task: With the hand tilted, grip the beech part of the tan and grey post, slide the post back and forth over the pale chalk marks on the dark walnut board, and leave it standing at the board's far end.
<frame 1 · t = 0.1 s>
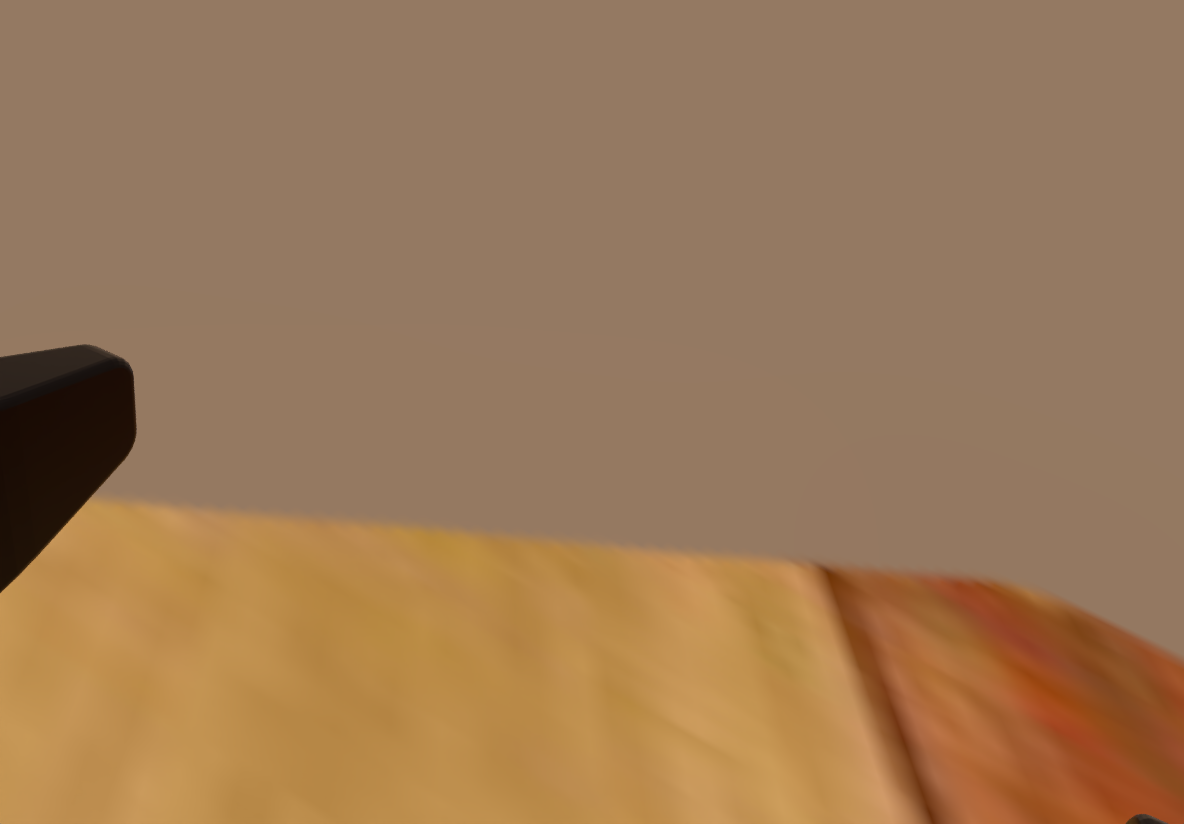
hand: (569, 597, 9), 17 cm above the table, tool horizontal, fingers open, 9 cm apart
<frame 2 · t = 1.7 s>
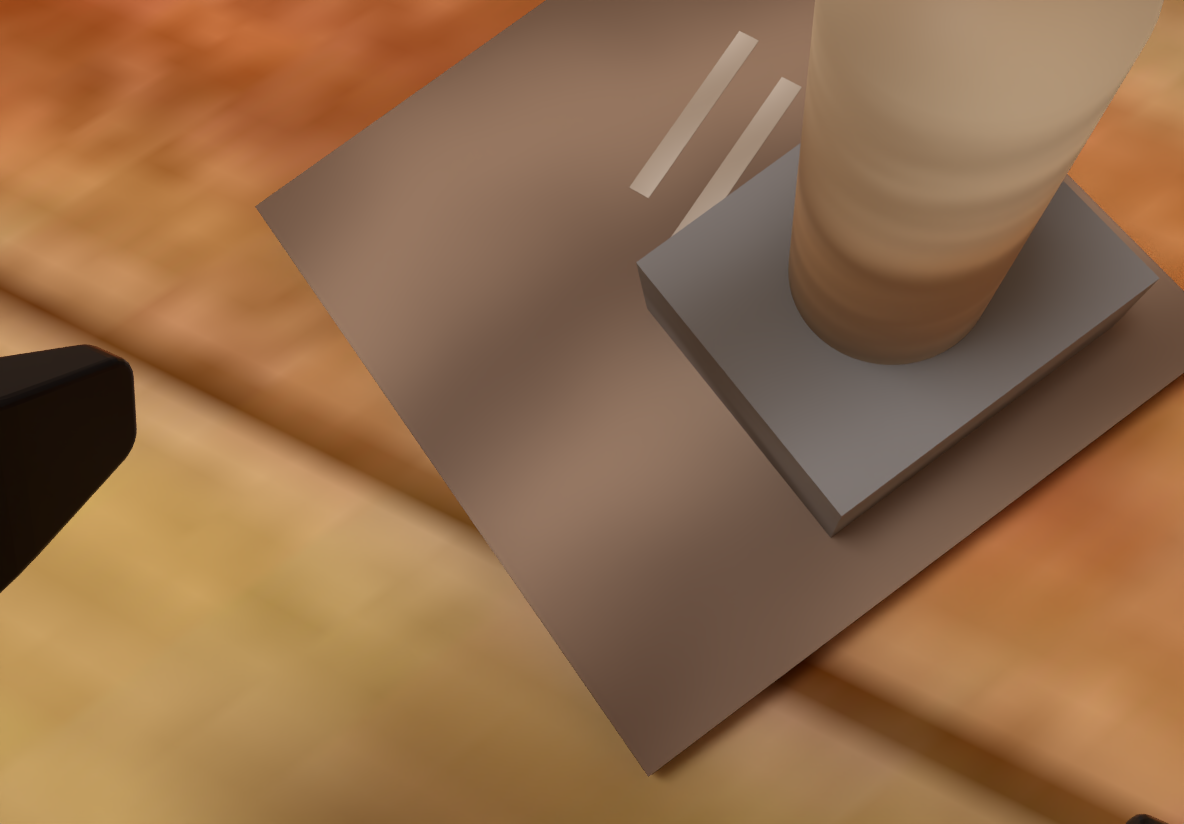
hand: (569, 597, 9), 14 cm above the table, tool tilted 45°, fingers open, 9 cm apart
walnut board: (706, 287, 24), on the table
tan and grey post: (873, 316, 22), point 1 cm above the table, touching walnut board
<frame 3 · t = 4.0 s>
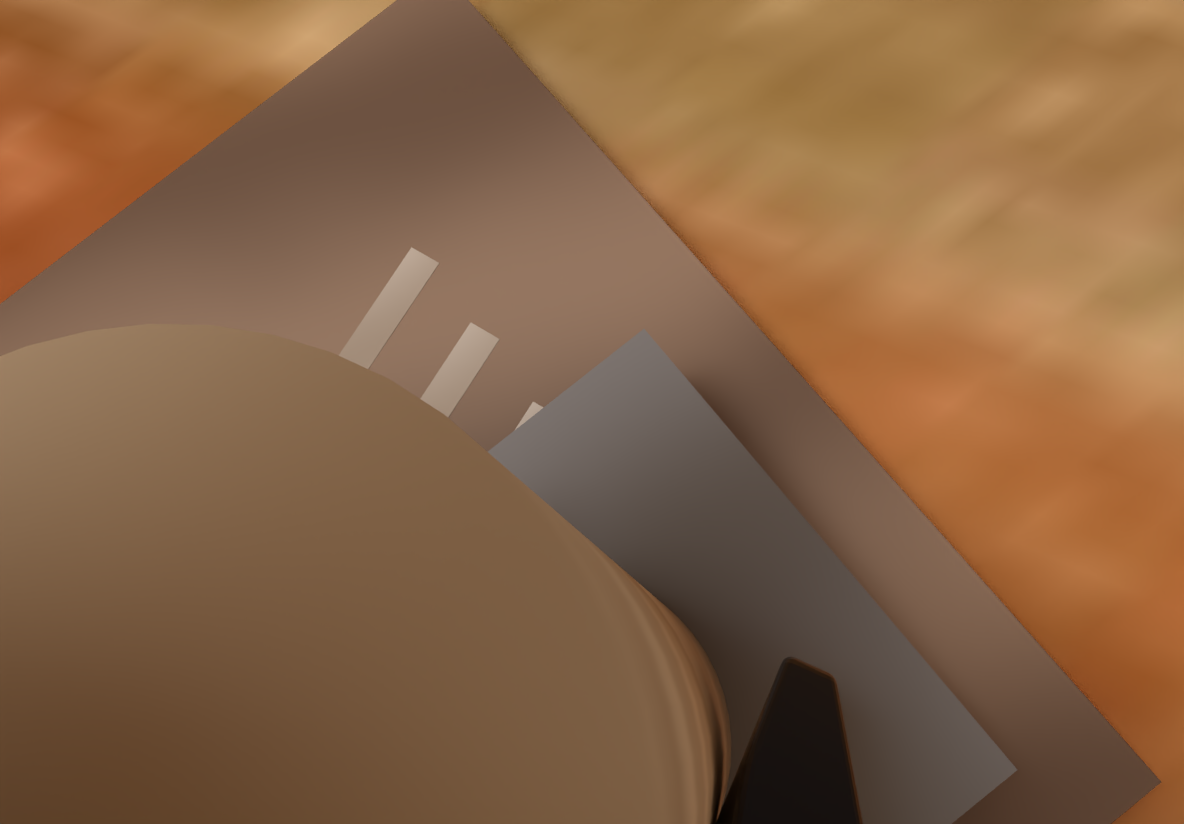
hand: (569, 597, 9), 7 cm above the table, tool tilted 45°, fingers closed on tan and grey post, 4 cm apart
walnut board: (372, 644, 16), on the table
tan and grey post: (593, 731, 14), point 1 cm above the table, touching gripper, walnut board
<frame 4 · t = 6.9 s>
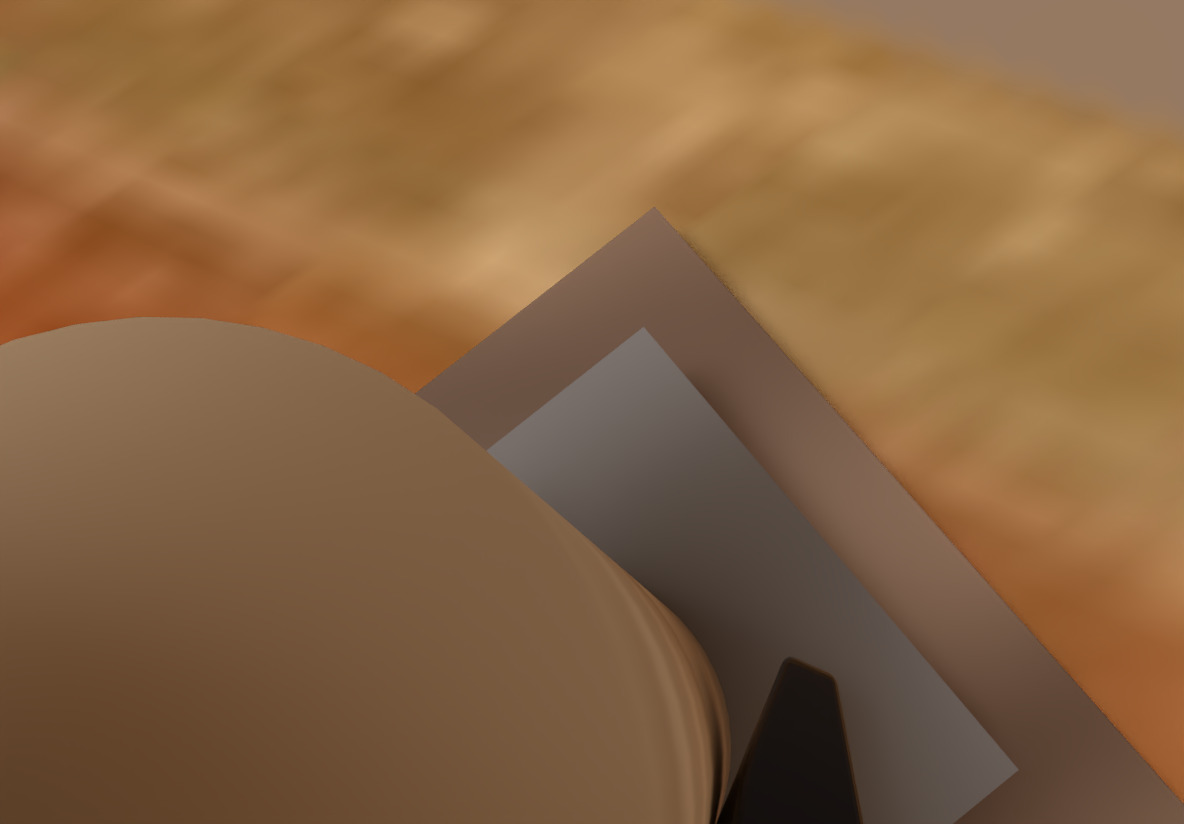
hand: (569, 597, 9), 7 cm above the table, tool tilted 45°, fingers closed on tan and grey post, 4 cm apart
tan and grey post: (593, 731, 14), point 1 cm above the table, touching gripper
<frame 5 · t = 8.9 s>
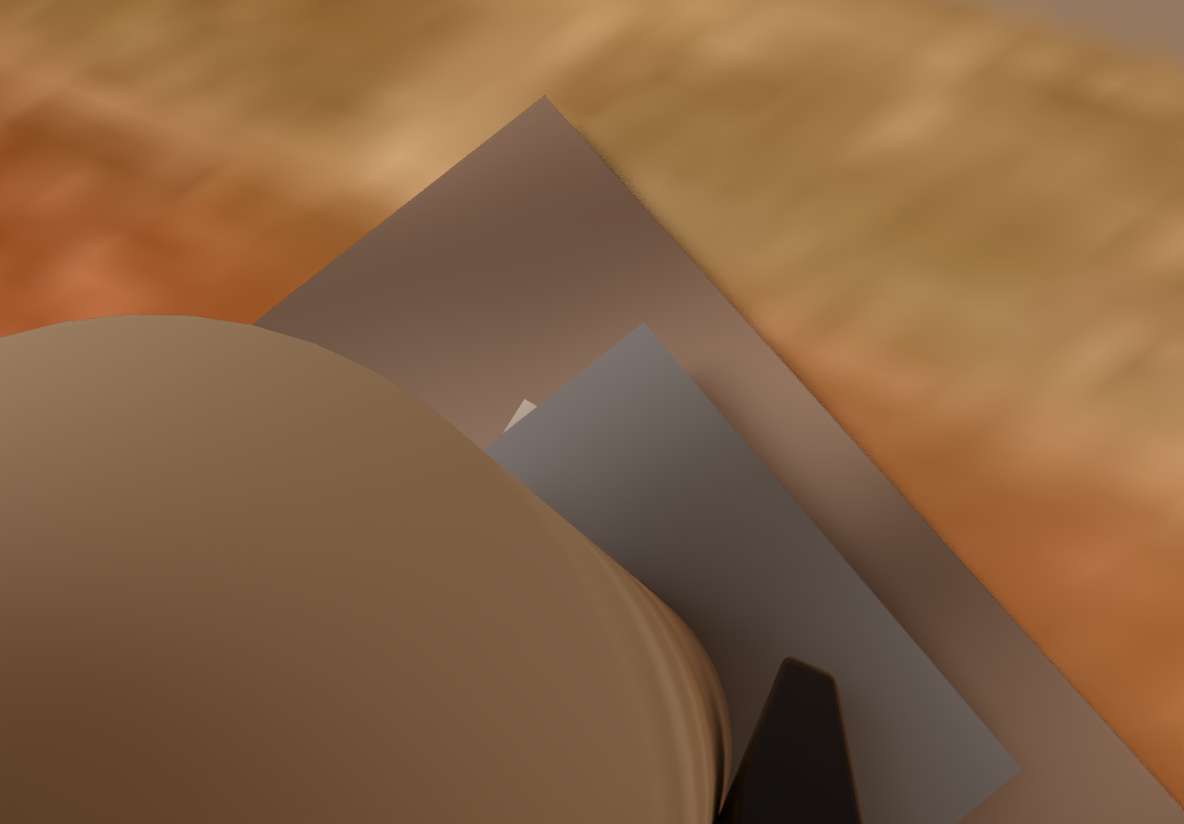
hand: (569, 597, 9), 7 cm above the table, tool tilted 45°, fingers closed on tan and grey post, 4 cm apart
walnut board: (486, 818, 15), on the table
tan and grey post: (593, 729, 14), point 1 cm above the table, touching gripper
when the fingers open (6 cm above the table, at t = 10.0 s): tan and grey post stays where it is, resting on walnut board.
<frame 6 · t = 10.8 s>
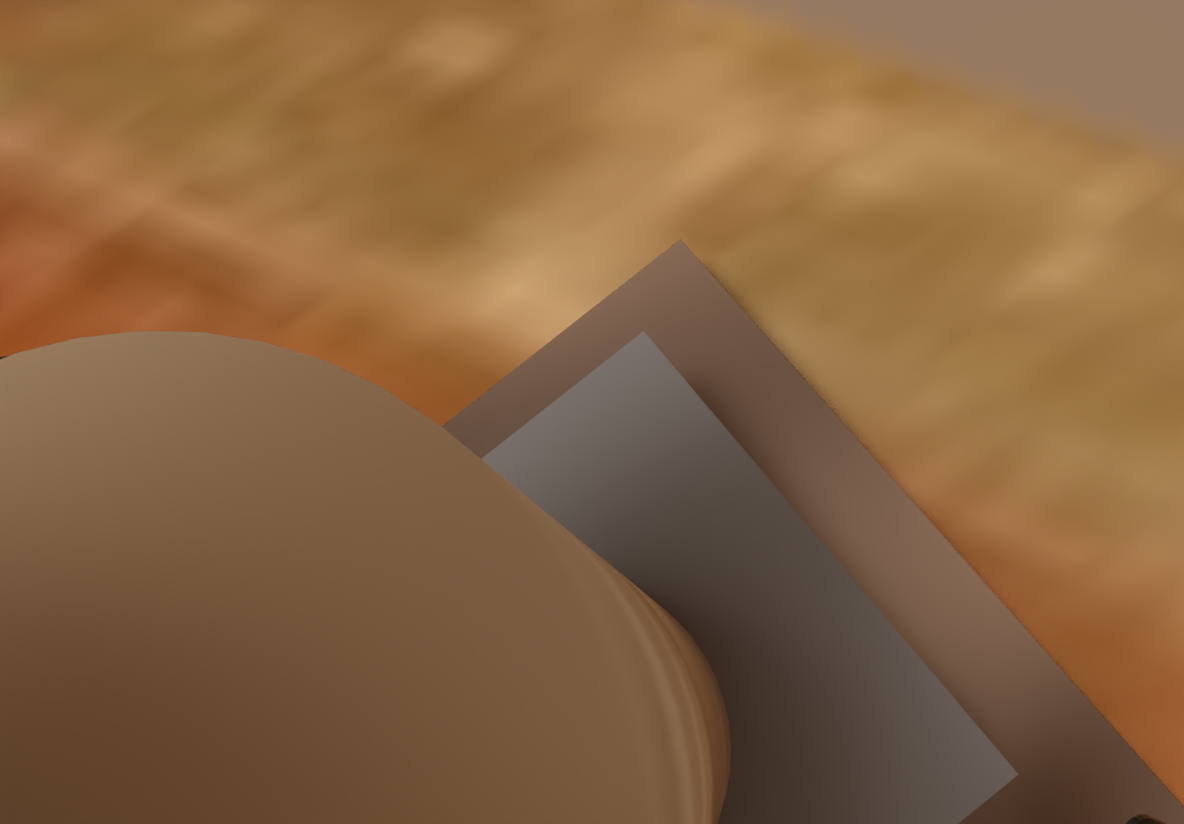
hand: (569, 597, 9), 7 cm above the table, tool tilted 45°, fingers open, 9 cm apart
tan and grey post: (593, 734, 14), point 1 cm above the table, touching walnut board
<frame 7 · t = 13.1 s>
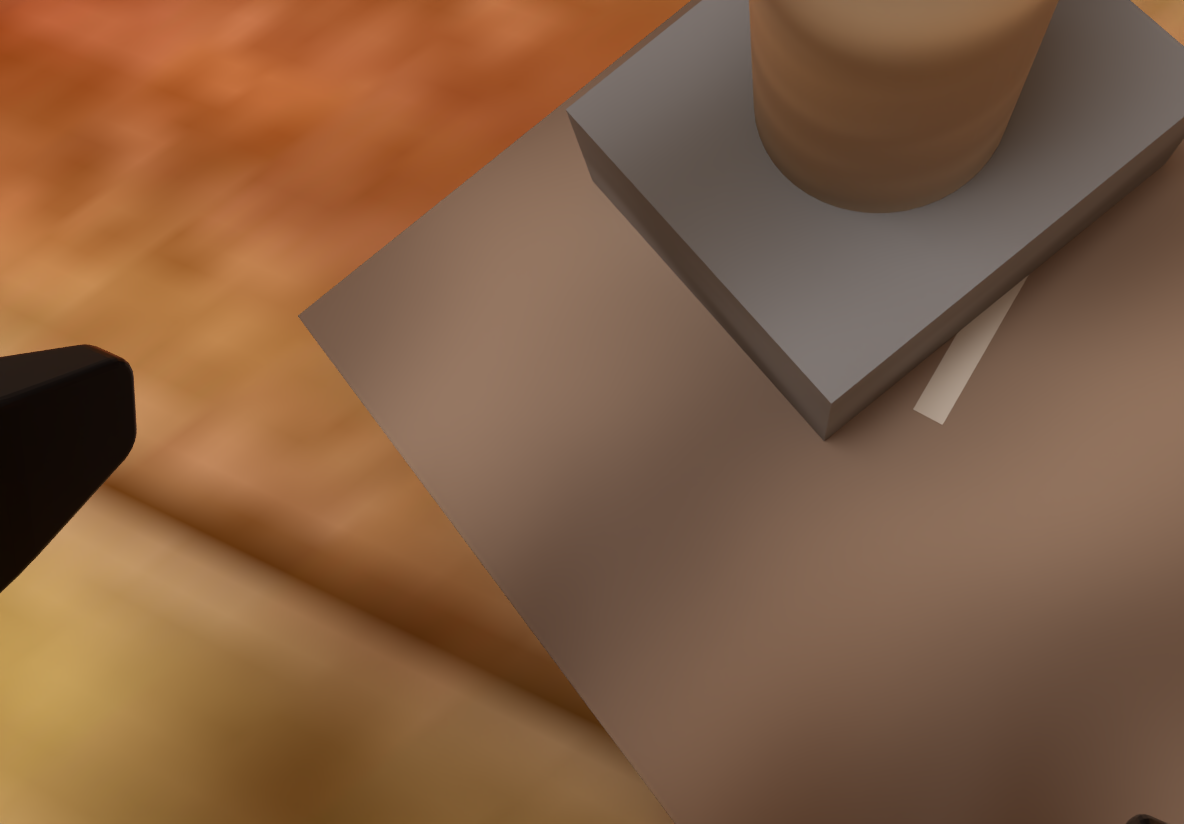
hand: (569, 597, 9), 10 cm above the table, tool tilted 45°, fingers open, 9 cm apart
walnut board: (890, 397, 19), on the table
tan and grey post: (866, 172, 18), point 1 cm above the table, touching walnut board
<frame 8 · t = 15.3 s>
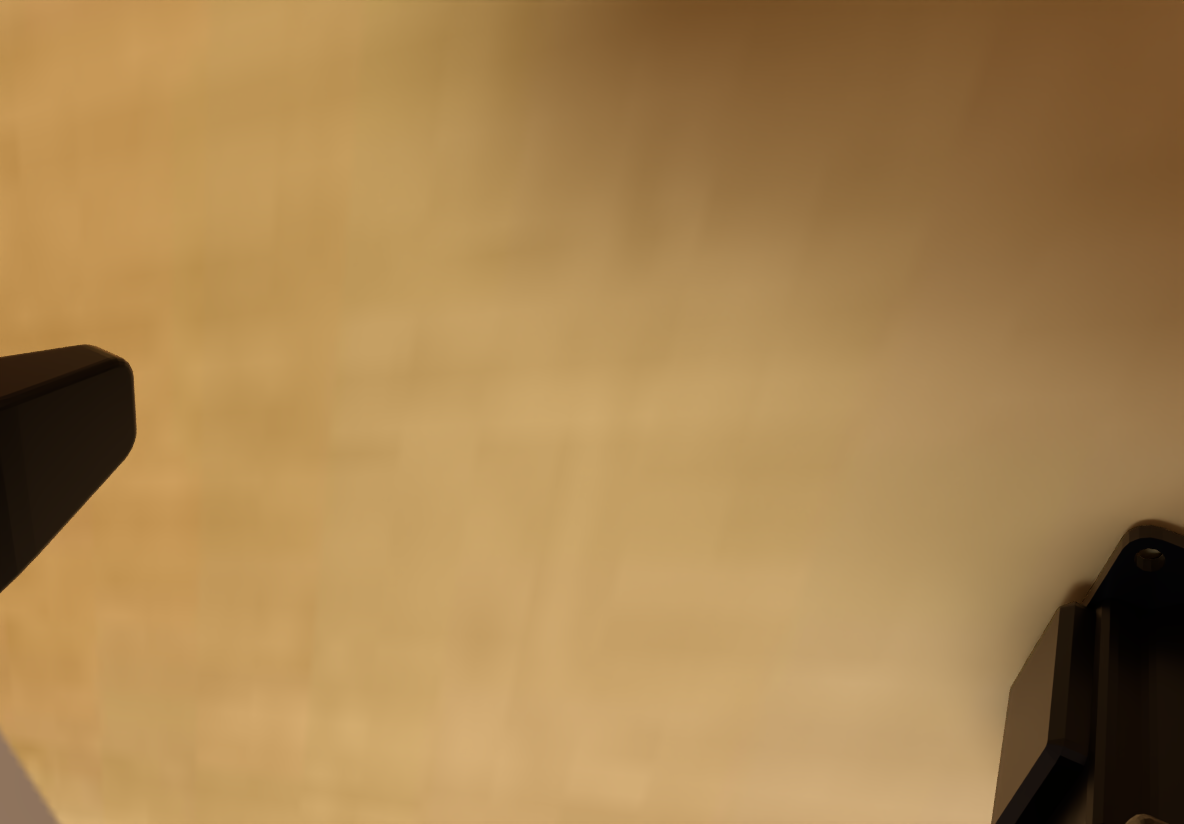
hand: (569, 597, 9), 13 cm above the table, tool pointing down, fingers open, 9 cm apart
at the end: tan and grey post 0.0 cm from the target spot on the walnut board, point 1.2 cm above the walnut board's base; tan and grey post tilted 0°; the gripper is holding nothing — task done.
